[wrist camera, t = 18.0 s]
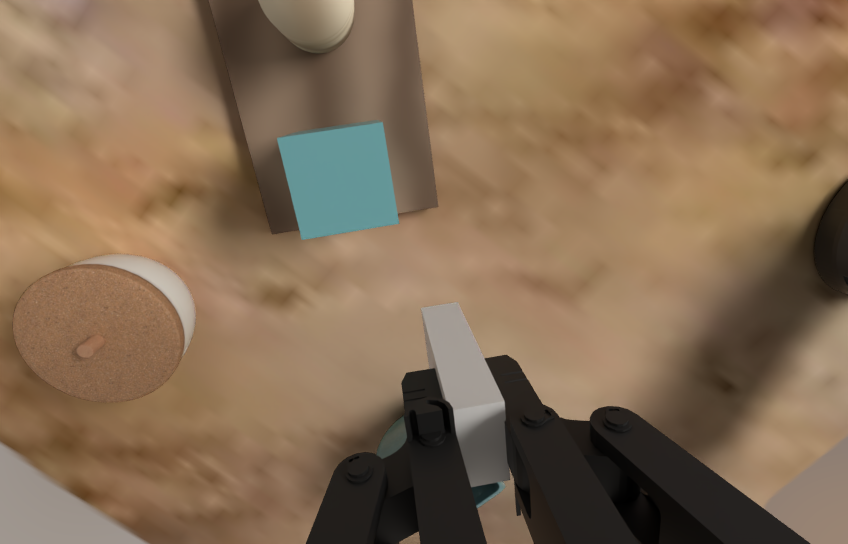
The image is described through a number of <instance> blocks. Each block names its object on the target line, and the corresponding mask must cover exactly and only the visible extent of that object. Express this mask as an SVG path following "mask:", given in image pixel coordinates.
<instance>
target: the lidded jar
mask: <svg viewBox="0 0 848 544" xmlns="http://www.w3.org/2000/svg"><path fill="white" fill-rule="evenodd" d="M195 324H196V311H195V304H194V300H193V297H192V295H191V293H190V291H189V289H188V287H187V286H186V284H185V283H184V281H183V280H182V279H181V278H180V277H179V276H178V275H177V274H176V273H175V272H174V271H172V270H171V269H170V268H168V267H167V266H165V265H163V264H162V263H160V262H157V261H155V260H153V259H150V258H147V257H143V256H138V255H132V254H109V255H101V256H96V257H92V258H89V259H85V260H82V261H79V262H76V263H74V264H72V265H70V266H68V267H65V268H62V269H58V270H56V271H54V272H52V273H50V274H48V275H46V276H44V277H42V278H40V279H39V280H37V281H36V282H34V283H33V284H32V285H30V286H29V288H28V289H27V290H26V291H25V292H24V293H23V294H22V296H21V297H20V299H19V301H18V302H17V305H16V308H15V311H14V316H13V334H14V338H15V342H16V346H17V348H18V350H19V352H20V354H21V356H22V357H23V359H24V360H25V362H26V363H27V365H28V366H29V367H30V368H31V369H32V370H33V371H34V372H35V373H36V374H37V375H38V376H39V377H40V378H41V379H43V380H44V381H45V382H46V383H48V384H50V385H51V386H53V387H55V388H56V389H58V390H60V391H62V392H64V393H66V394H68V395H71V396H74V397H78V398H81V399H85V400H90V401H96V402H122V401H128V400H133V399H136V398H140V397H143V396H145V395H147V394H149V393H151V392H153V391H155V390H156V389H158V388H159V387H161V386H162V385H163V384H164V383H165V382H166V381H167V380H168V379H169V378H170V376H171V375H172V374H173V372H174V371H175V369H176V368H177V366H178V364H179V362H180V360H181V358H182V357H183V355H184V354H185V352H186V350H187V348H188V346H189V344H190V341H191V339H192V336H193V333H194V329H195Z"/></svg>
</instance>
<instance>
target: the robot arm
mask: <svg viewBox="0 0 848 544" xmlns="http://www.w3.org/2000/svg"><path fill="white" fill-rule="evenodd" d="M815 262H816V267H817V270H818V272H819V274H820V276H821V278H822V279H823V280H824V282H825V283H826V284H827V285H829V286H830V287H831V288H833V289H835V290H837V291H840V292H842V293H845V294H848V182H847V183H846V184H845V185H844V186H843V188H842V189H841V190H840V191H839V192H838V194H837V195H836V196H835V198H834V199H833V200H832V202H831V203H830V205H829V207H828V208H827V210H826V212H825V214H824V216H823V218H822V221H821V223H820V226H819V228H818V232H817V236H816V241H815ZM421 311H422V318H423V326H424V333H425V340H426V348H427V355H428V362H429V368H430V369H427V370H421V371H415V372H409V373H406V375H405V377H404V379H403V381H402V391H403V400H404V408H405V413H404V422H405V428H406V434H407V439H406V441H405V443H404V444H403V446H402V447H401V448H400V449H399V450H397V451H396V452H395V453H393V454H391V455H389V456H387V457H385V458H383V459H381V457H379V456H377V455H376V454H374V453H367V452H364V453H357V454H354V455H352V456H349V457H347V458H346V459H344V460H343V461H342V462H341V463H340V464H339V465H338V466H337V468H336V469H335V471H334V473H333V476H332V478H331V481H330V483H329V486H328V488H327V491H326V494H325V496H324V499H323V501H322V504H321V506H320V509H319V511H318V514H317V516H316V519H315V522H314V524H313V527H312V529H311V532H310V534H309V537H308V539H307V542H306V544H399V542H400V541H402V540H403V539H405V538H407V537H409V536H411V535H412V534H414V533H416V532H418V531H419V535H420V544H487V543H486V539H485V536H484V532H483V528H482V525H481V521H480V518H479V514H478V510H477V507H476V503H475V500H474V496H473V492H472V489H471V487H476V486H481V485H486V484H491V483H496V482H502V481H507V480H510V473H509V468H510V470H511V473H512V475H513V478H514V485H515V501H516V512H517V516H519V515H521V511H522V513H523V516H524V518H525V521H526V524H527V526H528V529H529V532H530V534H531V537H532V539H533V542H534V544H810V543H809V542H808V541H806V540H805V539H804V538H802V537H801V536H799V535H798V534H797V533H795V532H794V531H793V530H791V529H790V528H788V527H787V526H786V525H785V524H783V523H782V522H781V521H779V520H778V519H777V518H775V517H774V516H773V515H771V514H770V513H769V512H767V511H766V510H765V509H763V508H762V507H761V506H759V505H758V504H757V503H755V502H754V501H753V500H751V499H750V498H748V497H747V496H746V495H744V494H743V493H742V492H740V491H739V490H738V489H736V488H735V487H734V486H732V485H731V484H730V483H728V482H727V481H726V480H724V479H723V478H722V477H720V476H719V475H718V474H716V473H715V472H714V471H712V470H711V469H710V468H708V467H707V466H705V465H704V464H703V463H701V462H700V461H699V460H697V459H696V458H695V457H693V456H692V455H691V454H689V453H688V452H687V451H685V450H684V449H683V448H681V447H680V446H679V445H677V444H676V443H675V442H673V441H672V440H671V439H669V438H668V437H666V436H665V435H664V434H662V433H661V432H660V431H658V430H657V429H656V428H654V427H653V426H652V425H650V424H649V423H648V422H646V421H645V420H644V419H642V418H641V417H640V416H638V415H637V414H635V413H633V412H632V411H630V410H628V409H624V408H621V407H613V406H607V407H602V408H598V409H597V410H595V411H594V412H593V413H592V415H591V417H590V421H578V420H568V419H563V418H560V417H559V416H558V414H557V413H556V412H555V411H554V410H553V409H552V408H550V407H548V406H545V405H543V404H542V403H541V401H540V399H539V398H538V396H537V394H536V393H535V391H534V389H533V388H532V386H531V384H530V383H529V381H528V380H527V378H526V376H525V374H524V373H523V372H522V369H521V368H520V366H519V364H518V363H517V361H515V360H514V359H512V358H511V357H509V356H508V355H502V356H496V357H490V358H485V359H484V357H483V355H482V352H481V350H480V348H479V346H478V344H477V342H476V340H475V338H474V336H473V333H472V331H471V329H470V327H469V325H468V323H467V321H466V319H465V317H464V314H463V312H462V310H461V308H460V306H459V304H458V302H455V303H449V304H442V305H436V306H430V307H424V308H421ZM520 508H521V509H520Z"/></svg>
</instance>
